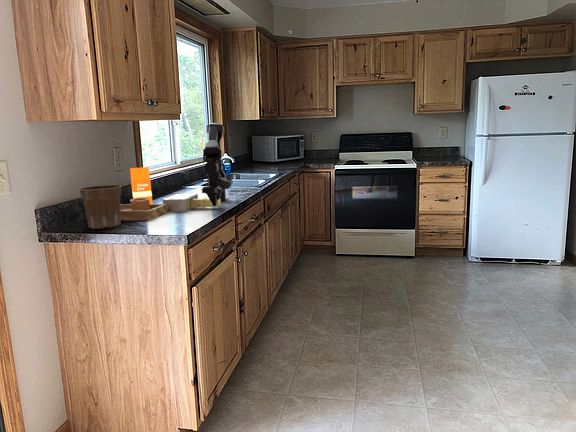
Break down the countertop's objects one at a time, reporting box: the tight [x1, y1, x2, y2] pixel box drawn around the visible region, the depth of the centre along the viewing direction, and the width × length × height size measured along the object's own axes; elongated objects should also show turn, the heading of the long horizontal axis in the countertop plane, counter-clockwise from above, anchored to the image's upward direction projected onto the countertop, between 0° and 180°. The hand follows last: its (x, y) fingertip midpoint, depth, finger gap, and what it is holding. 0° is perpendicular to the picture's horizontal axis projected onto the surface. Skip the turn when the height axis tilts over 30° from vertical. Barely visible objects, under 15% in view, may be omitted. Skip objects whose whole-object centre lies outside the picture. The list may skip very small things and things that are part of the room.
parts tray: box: [120, 203, 169, 221], centre depth 203 cm, size 17×26×4 cm, turn 80°
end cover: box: [190, 197, 222, 209], centre depth 215 cm, size 5×16×4 cm, turn 80°
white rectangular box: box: [162, 193, 199, 213], centre depth 217 cm, size 16×11×6 cm
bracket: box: [122, 198, 150, 211], centre depth 203 cm, size 18×8×7 cm, turn 146°
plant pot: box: [78, 184, 123, 230], centre depth 182 cm, size 16×16×16 cm
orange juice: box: [130, 166, 154, 204], centre depth 223 cm, size 8×9×20 cm
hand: (215, 205), depth 214 cm, fingers closed on end cover, 3 cm apart
